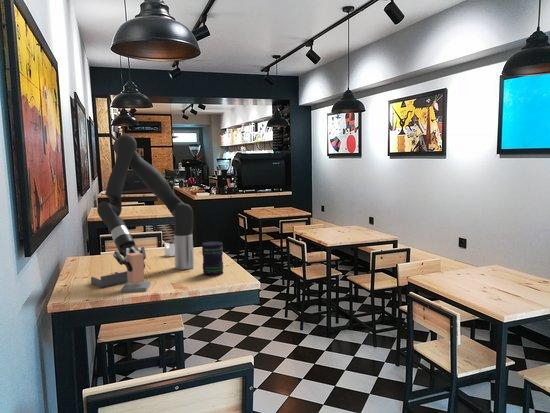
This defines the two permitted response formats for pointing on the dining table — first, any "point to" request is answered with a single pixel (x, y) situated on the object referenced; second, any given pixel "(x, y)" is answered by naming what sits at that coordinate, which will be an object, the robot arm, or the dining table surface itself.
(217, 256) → the storage jar
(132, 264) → the terracotta block
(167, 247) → the bracket
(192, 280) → the dining table surface
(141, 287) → the slate pad
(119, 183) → the robot arm
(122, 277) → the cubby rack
